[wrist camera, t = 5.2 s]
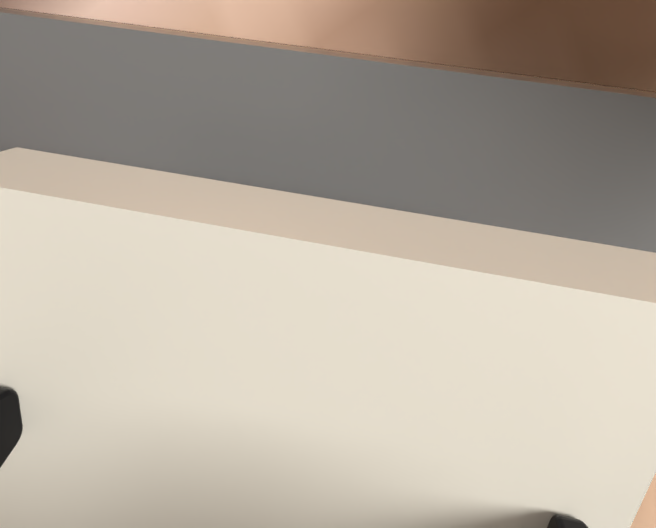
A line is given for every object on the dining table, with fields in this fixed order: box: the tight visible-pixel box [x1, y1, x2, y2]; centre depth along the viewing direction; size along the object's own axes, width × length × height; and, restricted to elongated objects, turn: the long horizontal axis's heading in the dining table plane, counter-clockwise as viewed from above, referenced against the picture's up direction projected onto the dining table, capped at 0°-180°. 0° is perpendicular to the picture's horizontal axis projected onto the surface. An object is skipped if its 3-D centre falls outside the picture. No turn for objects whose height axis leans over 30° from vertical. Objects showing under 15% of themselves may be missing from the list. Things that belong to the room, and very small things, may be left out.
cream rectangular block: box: [0, 147, 656, 528], centre depth 11 cm, size 8×11×4 cm
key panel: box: [0, 7, 656, 253], centre depth 16 cm, size 12×30×2 cm, turn 84°
